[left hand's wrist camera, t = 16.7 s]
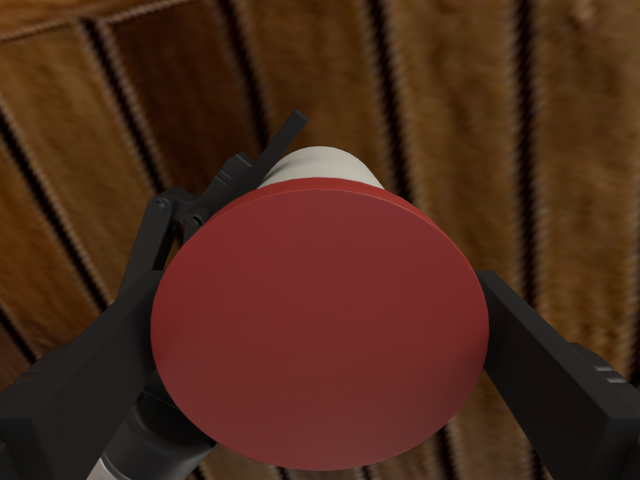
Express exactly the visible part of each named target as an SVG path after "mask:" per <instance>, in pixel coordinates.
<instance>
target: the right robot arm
mask: <svg viewBox="0 0 640 480" xmlns="http://www.w3.org/2000/svg"><path fill="white" fill-rule="evenodd" d="M308 120H309V119H308V118H307V117H306V116H305V115H303V114H302V113H301V112H300V111H299V110H294V111H293V112H292V114H291V115H290V116H289V118H288V119H287V120H286V122H285V123H284V124H283V126H282V127H281V128H280V130H279V131H278V132H277V134H276V135H275V137H274V138H273V139H272V141H271V142H270V143H269V145H268V146H267V147H266V149H265V150H264V151H263V153H262V154H261V155H260V157H259V158H258V159H257V161H255V160H253V159H252V158H251V157H250V156H248V155H247V154H246V153H245V152H243V151H241V152H240V153H238V154H236V155H234V156H233V157H231V158H229V159H228V160H227V161H226V162H225V163H224V165H223V166H222V168H221V169H220V170H219V172H218V173H217V175H216V176H215V177H214V179H213V180H212V182H211V183H210V184H209V186H208V187H207V189H206V190H205V191H204V193H203V194H202V195H195V194H191V193H188V192H186V190H185V189H183V188H182V187H179V186H175V187H172V188H170V189H168V190H166V191H164V192H162V193H160V194H159V195H157V196H155V197H153V198H152V199H150V201H149V202H148V204H147V207H146V210H145V214H144V217H143V220H142V223H141V226H140V229H139V232H138V235H137V238H136V241H135V244H134V247H133V250H132V253H131V256H130V259H129V262H128V265H127V268H126V271H125V274H124V277H123V280H122V283H121V286H120V289H119V292H118V295H117V298H116V300H117V299H118V298H119V297H120V296H121V295H122V294H123V293H124V292H125V291H126V290H127V289H128V288H129V287H131V286H132V285H133V284H134V283H135V282H136V281H137V280H138V279H139V278H140V277H141V276H142V275H143V274H144V273H145V272H146V271H163V268H164V265H165V263H166V260H167V257H168V255H169V252H170V249H171V247H172V244H173V241H174V239H175V236H176V233H177V230H178V228H179V225H180V223H184V224H185V229H184V240H183V245H184V244H185V243H186V242H187V241H188V240H189V239H190V238H191V237H192V236H193V235H194V234H195V233H196V232H197V231H198V230H199V229H200V228H201V227H202V226H203V225H204V224H205V223H206V222H207V221H208V220H209V219H210V218H211V217H212V216H213V215H214V214H215V213H217V212H218V211H219V210H221V209H222V208H223V207H225V206H226V205H228V204H229V203H230V202H232V201H234V200H235V199H237V198H239V197H241V196H243V195H245V194H247V193H249V192H250V191H253V190H255V189H256V188H257V187H258V185H259V184H260V183H261V182H262V180H263V179H264V178H265V176H266V175H267V174H268V172H269V171H270V170H271V168H272V167H273V166H274V165H275V163H276V162H277V161H278V159H279V158H280V157H281V155H282V154H283V153H284V151H285V150H286V149H287V148H288V146H289V145H290V144H291V142H292V141H293V140H294V138H295V137H296V136H297V135H298V133H299V132H300V131H301V129H302V128H303V127H304V125H305V124H306V123H307V121H308ZM218 444H219V443H218V442H216V441H215V440H214V439H212V438H211V437H209V436H208V435H207V434H205V433H204V432H203V431H201V430H200V429H199V428H198V427H197V426H196V425H195V424H194V423H192V422H191V421H190V420H189V419H188V418H187V417H186V416H185V414H184V413H183V412H182V411H181V410H180V409H179V407H178V406H177V405H176V404H175V402H174V401H173V399H172V398H171V396H170V395H169V393H168V392H167V390H166V388H165V386H164V384H163V382H162V380H161V378H160V375H159V373H158V370H157V368H156V369H155V371H154V372H153V374H152V376H151V377H150V379H149V380H148V382H147V384H146V385H145V387H144V388H143V390H142V392H141V393H140V395H139V396H138V398H137V400H136V401H135V403H134V404H133V406H132V408H131V409H130V411H129V412H128V414H127V416H126V417H125V419H124V420H123V422H122V424H121V425H120V427H119V428H118V430H117V432H116V433H115V435H114V436H113V438H112V439H111V441H110V443H109V444H108V446H107V447H106V449H105V451H104V452H103V454H102V455H101V457H100V459H99V460H98V462H97V463H96V465H95V467H94V468H93V470H92V471H91V473H90V475H89V476H88V478H87V479H86V480H184V479H185V478H186V477H187V475H188V474H189V473H191V472H192V471H193V470H194V469H195V468H196V467H197V466H198V465H199V464H200V463H201V462H202V461H203V460H204V459H205V458H206V457H207V456H208V455H209V454H210V453H211V452H212V451H213V450H214V449H215V448H216V447H217V445H218Z"/></svg>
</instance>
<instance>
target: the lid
mask: <svg viewBox="0 0 640 480" xmlns="http://www.w3.org/2000/svg"><path fill="white" fill-rule="evenodd" d="M150 338H151V345H152V352H153V357H154V360H155V364H156V367H157V370H158V373H159V375H160V378H161V380H162V382H163V384H164V386H165V388H166V390H167V392H168V393H169V395H170V396H171V398H172V399H173V401H174V402H175V404H176V405H177V406H178V407H179V409H180V410H181V411H182V412H183V413H184V414H185V416H186V417H187V418H188V419H189V420H190V421H191V422H192V423H194V424H195V425H196V426H197V427H198V428H199V429H200V430H201V431H203V432H204V433H205V434H207V435H208V436H209V437H211V438H212V439H214V440H215V441H216V442H218V443H220V444H222V445H224V446H225V447H227V448H229V449H231V450H232V451H235V452H237V453H239V454H241V455H244V456H246V457H248V458H251V459H254V460H257V461H260V462H263V463H266V464H271V465H275V466H280V467H284V468H291V469H299V470H318V471H325V470H342V469H348V468H354V467H361V466H364V465H368V464H372V463H376V462H380V461H382V460H385V459H388V458H391V457H394V456H396V455H398V454H400V453H402V452H405V451H407V450H409V449H411V448H413V447H414V446H416V445H418V444H419V443H421V442H423V441H424V440H426V439H427V438H429V437H430V436H431V435H433V434H434V433H435V432H437V431H438V430H439V429H440V428H442V427H443V426H444V425H445V424H446V423H447V422H448V421H449V420H450V419H451V418H452V417H453V416H454V415H455V414H456V413H457V411H458V410H459V409H460V408H461V406H462V405H463V404H464V403H465V401H466V400H467V398H468V397H469V395H470V393H471V392H472V390H473V388H474V387H475V385H476V383H477V381H478V378H479V376H480V373H481V371H482V369H483V365H484V361H485V357H486V354H487V348H488V338H489V322H488V311H487V306H486V302H485V297H484V293H483V291H482V288H481V286H480V283H479V281H478V278H477V276H476V274H475V272H474V271H473V269H472V267H471V266H470V264H469V262H468V261H467V259H466V257H465V256H464V255H463V254H462V252H461V251H460V250H459V249H458V248H457V246H456V245H455V244H454V243H453V242H452V240H451V239H450V238H449V237H448V236H447V235H446V234H445V233H444V232H443V231H442V230H441V229H440V228H439V227H438V226H437V225H436V224H435V223H434V222H433V221H432V220H430V219H429V218H428V217H427V216H426V215H425V214H424V213H423V212H421V211H420V210H419V209H418V208H416V207H415V206H413V205H412V204H410V203H409V202H407V201H406V200H404V199H402V198H401V197H399V196H397V195H394V194H392V193H390V192H388V191H386V190H384V189H382V188H379V187H375V186H372V185H369V184H366V183H363V182H359V181H353V180H347V179H342V178H329V177H309V178H298V179H291V180H286V181H282V182H277V183H273V184H269V185H267V186H264V187H261V188H259V189H256V190H253V191H250V192H249V193H247V194H245V195H243V196H241V197H239V198H237V199H235V200H234V201H232V202H230V203H229V204H228V205H226V206H225V207H223V208H222V209H221V210H219V211H218V212H217V213H215V214H214V215H213V216H212V217H211V218H210V219H209V220H208V221H207V222H206V223H205V224H204V225H203V226H202V227H201V228H200V229H199V230H198V231H197V232H196V233H195V234H194V235H193V236H192V237H191V238H190V239H189V240H188V241H187V242H186V243H185V244H184V245H183V246H182V248H181V249H180V250H179V252H178V253H177V254H176V256H175V257H174V258H173V259H172V261H171V262H170V264H169V266H168V267H167V269H166V271H165V273H164V275H163V277H162V279H161V281H160V283H159V286H158V289H157V292H156V295H155V298H154V302H153V308H152V314H151V336H150Z"/></svg>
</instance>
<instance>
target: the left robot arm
mask: <svg viewBox="0 0 640 480" xmlns="http://www.w3.org/2000/svg"><path fill="white" fill-rule="evenodd" d="M474 272H475V274H476V276H477V278H478V281H479V283H480V286H481V288H482V291H483V293H484V297H485V302H486V306H487V311H488V322H489V338H488V348H487V354H486V357H485V361H484V365H483V368H484V369H485V371H486V372H487V374H488V376H489V377H490V379H491V380H492V382H493V384H494V385H495V387H496V388H497V390H498V392H499V393H500V395H501V396H502V398H503V400H504V401H505V403H506V404H507V406H508V408H509V409H510V411H511V412H512V414H513V416H514V417H515V419H516V420H517V422H518V424H519V425H520V427H521V428H522V430H523V432H524V433H525V435H526V436H527V438H528V439H529V441H530V443H531V444H532V446H533V447H534V449H535V451H536V452H537V454H538V455H539V457H540V459H541V460H542V462H543V463H544V465H545V467H546V468H547V470H548V471H549V473H550V475H551V476H552V478H553V479H554V480H640V376H639V377H638V378H637V379H636V380H635V382H634V383H633V384H632V385H631V384H630V383H627V382H626V379H625V378H623V377H622V376H621V375H620V374H619V373H618V372H617V371H613V368H612V367H611V366H610V365H609V364H608V363H607V362H605V361H604V360H603V359H602V358H601V357H600V356H599V355H598V354H596V353H594V352H592V351H591V350H589V349H587V348H586V347H584V346H582V345H580V344H579V343H568V342H567V341H566V340H565V339H564V338H563V337H562V336H561V335H560V334H559V333H558V332H557V331H556V330H555V329H554V328H553V327H552V326H550V325H549V324H548V323H547V322H546V321H545V320H544V319H543V318H542V317H541V316H540V315H539V314H538V313H537V312H536V311H535V310H534V309H533V308H532V307H531V306H529V305H528V304H527V303H526V302H525V301H524V300H523V299H522V298H521V297H520V296H519V295H518V294H517V293H516V292H515V291H514V290H513V289H512V288H511V287H509V286H508V285H507V284H506V283H505V282H504V281H503V280H502V279H501V278H500V277H499V276H498V275H497V274H496V273H495V272H494V271H474ZM164 273H165V271H146V272H145V273H144V274H143V275H142V276H141V277H140V278H139V279H138V280H137V281H136V282H135V283H134V284H133V285H132V286H131V287H129V288H128V289H127V290H126V291H125V292H124V293H123V294H122V295H121V296H120V297H119V298H118V299H117V300H116V301H115V302H114V303H113V304H112V305H111V306H109V307H108V308H107V309H106V310H105V311H104V312H103V313H102V314H101V315H100V316H99V317H98V318H97V319H96V320H95V321H94V322H93V323H92V324H91V325H90V326H88V327H87V328H86V329H85V330H84V331H83V332H82V333H81V334H80V335H79V336H78V337H77V338H76V339H75V340H74V341H73V342H72V343H71V344H62V345H60V346H59V347H57V348H55V349H53V350H52V351H50V352H48V353H47V354H45V355H43V356H42V357H41V358H40V359H39V360H37V361H36V362H35V363H34V364H33V365H32V366H31V367H30V368H29V369H27V372H24V373H23V374H22V375H21V376H20V377H19V378H17V379H16V380H15V381H14V384H11V385H10V386H9V387H7V388H6V389H5V390H4V391H3V392H2V393H1V394H0V480H86V479H87V478H88V476H89V475H90V473H91V471H92V470H93V468H94V467H95V465H96V463H97V462H98V460H99V459H100V457H101V455H102V454H103V452H104V451H105V449H106V447H107V446H108V444H109V443H110V441H111V439H112V438H113V436H114V435H115V433H116V432H117V430H118V428H119V427H120V425H121V424H122V422H123V420H124V419H125V417H126V416H127V414H128V412H129V411H130V409H131V408H132V406H133V404H134V403H135V401H136V400H137V398H138V396H139V395H140V393H141V392H142V390H143V388H144V387H145V385H146V384H147V382H148V380H149V379H150V377H151V376H152V374H153V372H154V371H155V369H156V368H157V367H156V364H155V360H154V357H153V352H152V345H151V338H150V336H151V314H152V308H153V302H154V298H155V295H156V292H157V289H158V286H159V283H160V281H161V279H162V277H163V275H164Z"/></svg>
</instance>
